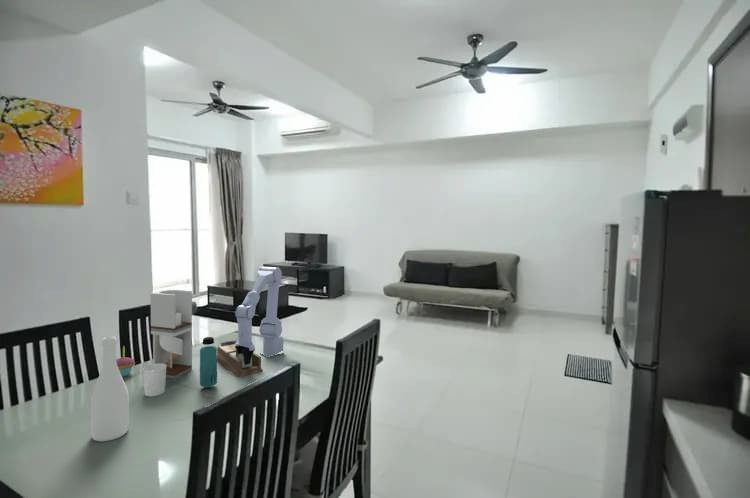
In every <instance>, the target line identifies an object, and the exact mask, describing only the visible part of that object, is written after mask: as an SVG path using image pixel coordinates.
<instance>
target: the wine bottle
mask: <svg viewBox="0 0 750 498" xmlns="http://www.w3.org/2000/svg"><path fill="white" fill-rule="evenodd" d="M117 342H118V341H117V337H116V336H112V335H110V336H104V337H103V338H102V340H101V346H102V365H101V366H102V367H101V371H100V373H99V376H98V378H97V381H96V384H95V386H94V389H93V391H92V394H91V397H90V432H91V433H90V436H91V439H92V440H94V441H96V442H110V441H114V440H116V439H119V438H121V437H123V436H124V435H126V433H127V432H128V431H129V428H130V415H129V414H130V413H129V412H130V405H129V403H130V402H129V399H130V398H129V397H130V396H129V389H128V387H127V384H126V383H125V380H124V379H123V376H121V374H120V371H119V369H118V367H117V363H116V359H117V347H116V345H117Z"/></svg>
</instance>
